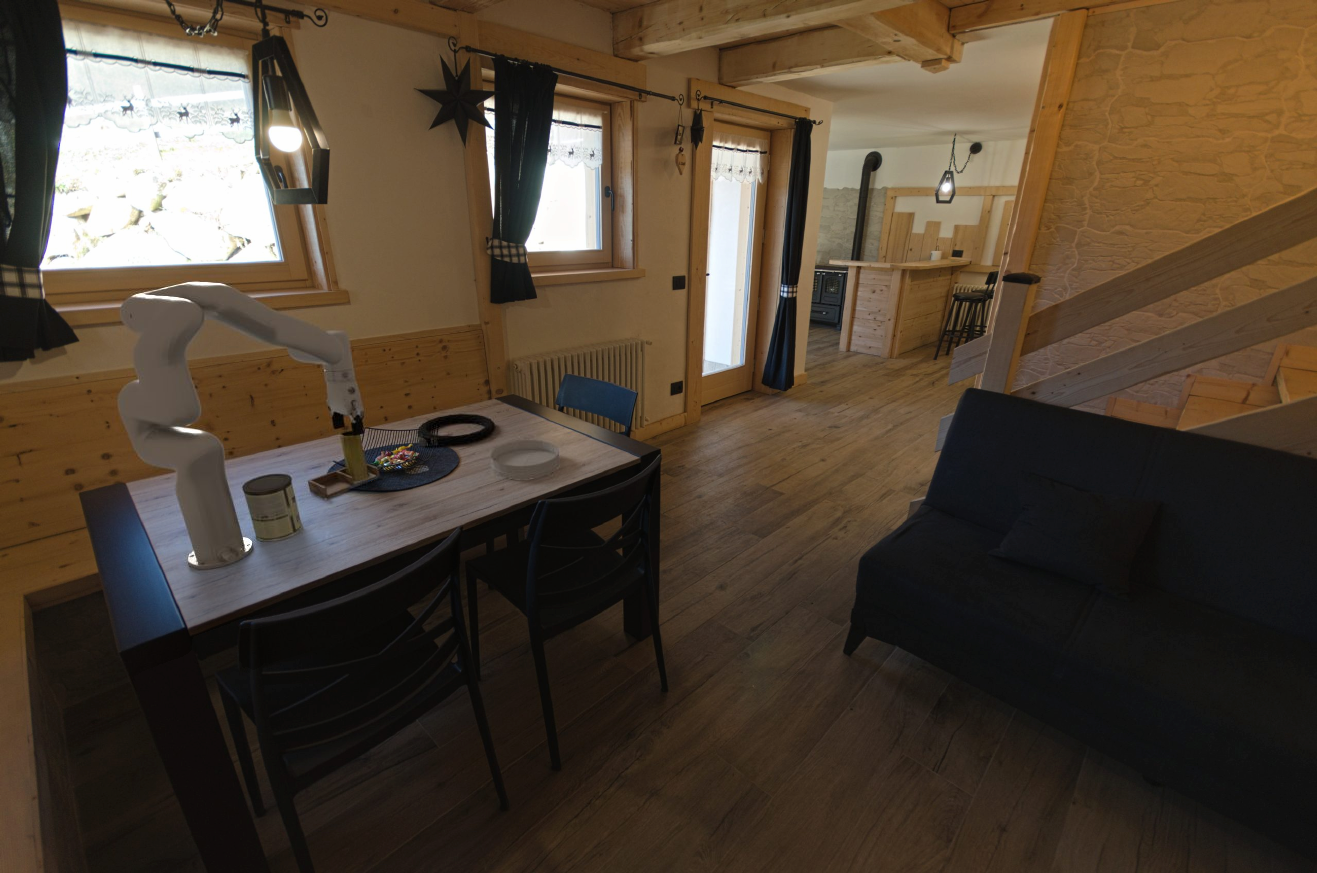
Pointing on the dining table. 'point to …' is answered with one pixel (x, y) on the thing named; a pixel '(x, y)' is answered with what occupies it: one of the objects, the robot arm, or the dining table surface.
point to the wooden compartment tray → (338, 482)
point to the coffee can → (272, 507)
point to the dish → (525, 459)
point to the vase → (354, 455)
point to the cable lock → (460, 439)
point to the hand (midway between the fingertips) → (348, 431)
